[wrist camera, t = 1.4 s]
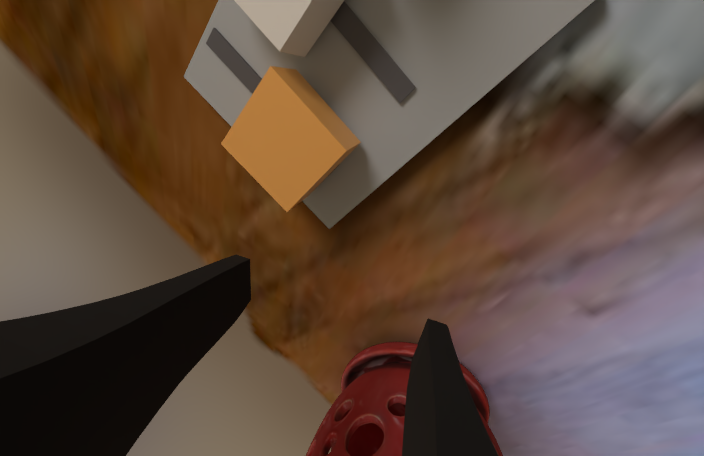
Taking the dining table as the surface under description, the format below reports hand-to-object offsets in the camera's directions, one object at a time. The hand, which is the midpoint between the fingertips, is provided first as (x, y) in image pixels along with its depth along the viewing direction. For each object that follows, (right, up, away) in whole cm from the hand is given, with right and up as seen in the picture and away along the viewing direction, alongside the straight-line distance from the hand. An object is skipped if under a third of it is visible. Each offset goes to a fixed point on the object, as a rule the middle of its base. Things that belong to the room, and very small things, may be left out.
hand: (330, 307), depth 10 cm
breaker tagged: (-2, +8, +6) cm, 10 cm away
